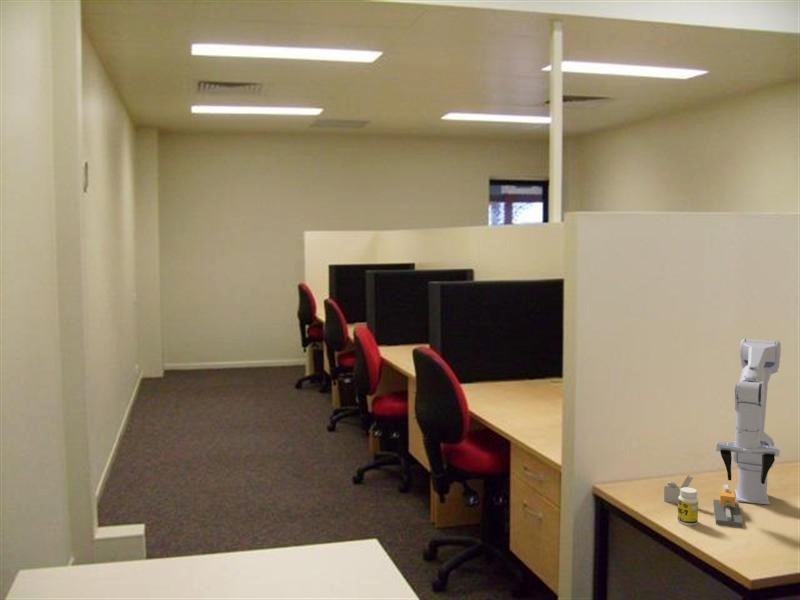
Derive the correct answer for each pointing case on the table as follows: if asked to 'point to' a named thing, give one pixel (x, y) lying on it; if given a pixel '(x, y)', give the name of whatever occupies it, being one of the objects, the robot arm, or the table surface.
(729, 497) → the orange cube with peg
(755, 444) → the robot arm
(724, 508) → the linear slider rail
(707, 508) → the table surface
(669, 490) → the lighter
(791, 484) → the table surface
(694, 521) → the supplement bottle
